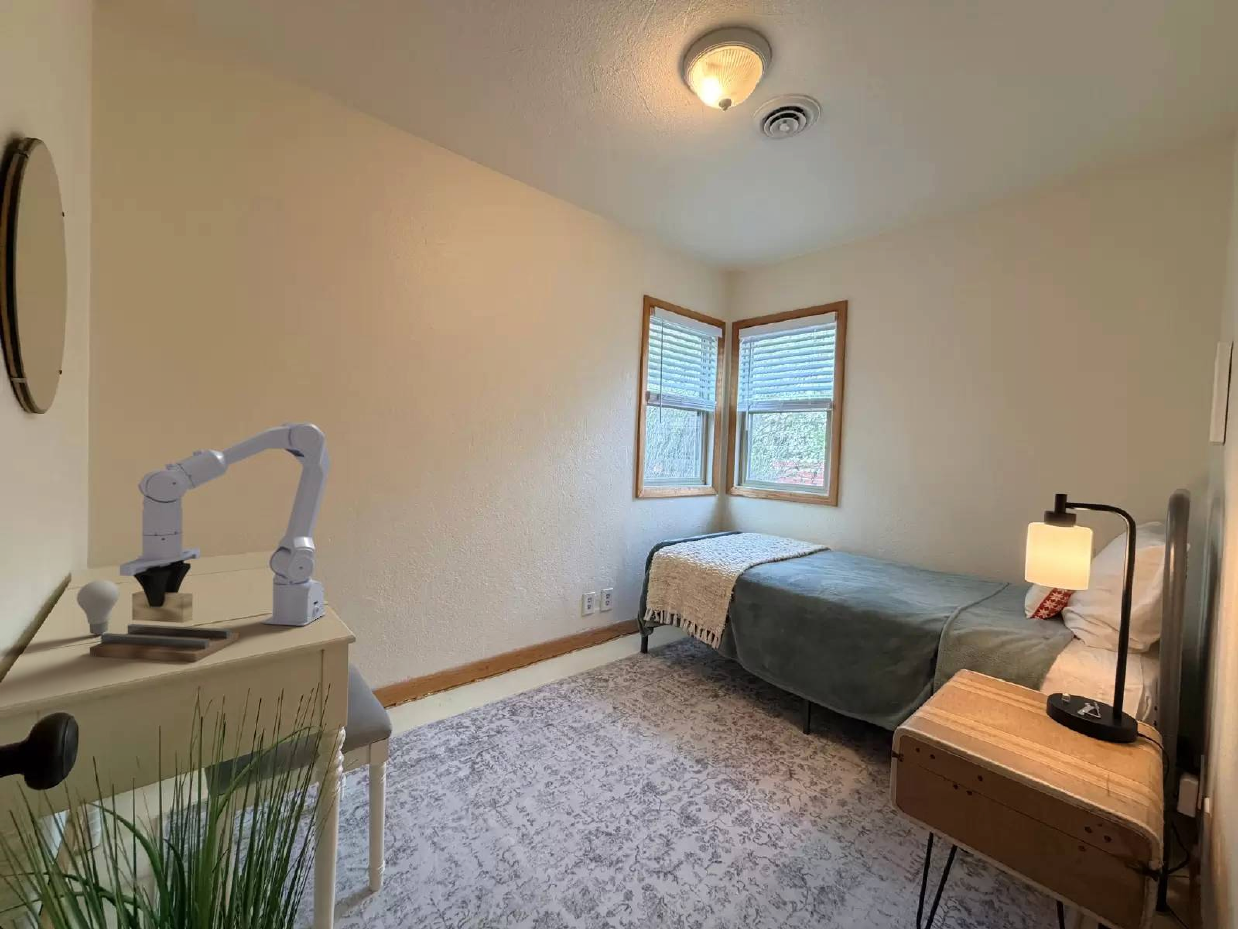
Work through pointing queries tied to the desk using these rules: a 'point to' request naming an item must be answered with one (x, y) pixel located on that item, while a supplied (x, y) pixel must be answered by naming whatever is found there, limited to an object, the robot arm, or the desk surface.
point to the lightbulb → (98, 603)
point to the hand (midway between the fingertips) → (162, 604)
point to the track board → (164, 642)
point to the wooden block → (163, 608)
